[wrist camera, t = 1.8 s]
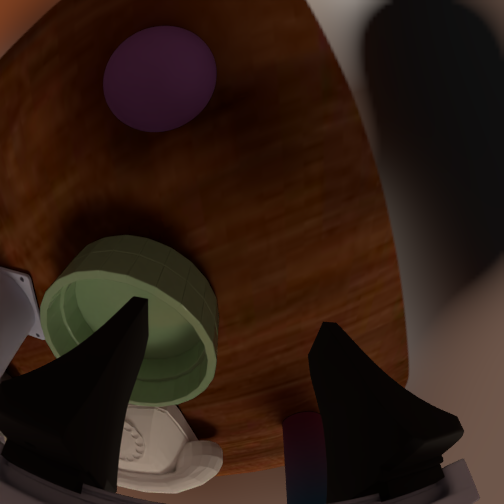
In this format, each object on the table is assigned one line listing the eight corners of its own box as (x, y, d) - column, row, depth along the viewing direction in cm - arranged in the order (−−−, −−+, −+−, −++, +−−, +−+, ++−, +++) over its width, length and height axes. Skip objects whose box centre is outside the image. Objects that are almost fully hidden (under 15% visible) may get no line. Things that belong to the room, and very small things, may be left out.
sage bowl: (82, 344, 25) (62, 385, 20) (62, 221, 19) (23, 254, 14) (209, 369, 26) (207, 416, 21) (230, 246, 21) (229, 291, 16)
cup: (327, 427, 34) (349, 522, 20) (278, 436, 34) (290, 534, 20) (328, 402, 30) (357, 514, 17) (272, 413, 31) (286, 529, 17)
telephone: (229, 447, 35) (231, 504, 27) (108, 442, 35) (98, 490, 27) (202, 388, 28) (197, 468, 19) (55, 383, 28) (31, 441, 20)
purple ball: (120, 125, 16) (75, 133, 11) (136, 38, 14) (97, 14, 8) (210, 134, 17) (198, 143, 12) (228, 44, 14) (225, 15, 9)
